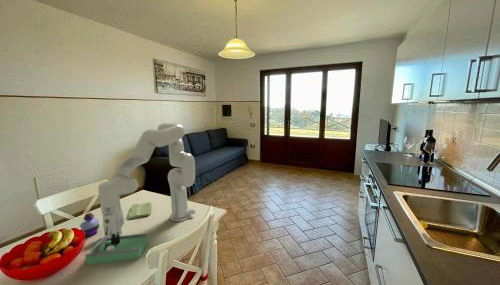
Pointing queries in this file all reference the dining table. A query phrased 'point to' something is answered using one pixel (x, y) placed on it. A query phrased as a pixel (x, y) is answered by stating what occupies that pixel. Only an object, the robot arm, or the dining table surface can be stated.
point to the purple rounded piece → (90, 225)
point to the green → (117, 249)
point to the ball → (110, 248)
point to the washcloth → (140, 210)
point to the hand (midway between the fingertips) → (116, 243)
